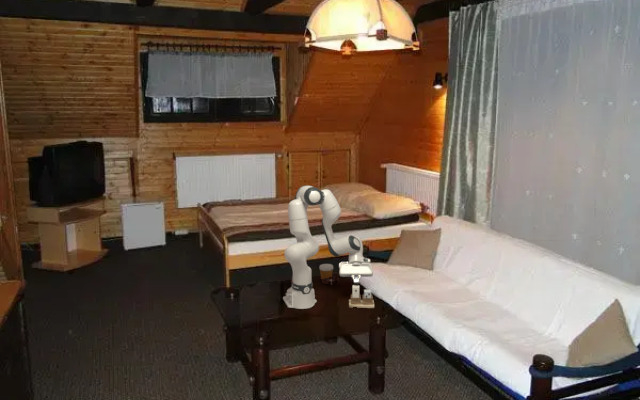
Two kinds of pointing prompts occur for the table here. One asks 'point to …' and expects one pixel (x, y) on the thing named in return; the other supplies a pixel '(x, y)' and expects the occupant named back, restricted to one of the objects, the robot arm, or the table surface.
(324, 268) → the disposable coffee cup
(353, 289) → the key one
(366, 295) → the key two
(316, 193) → the robot arm
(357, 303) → the key console
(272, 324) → the table surface
